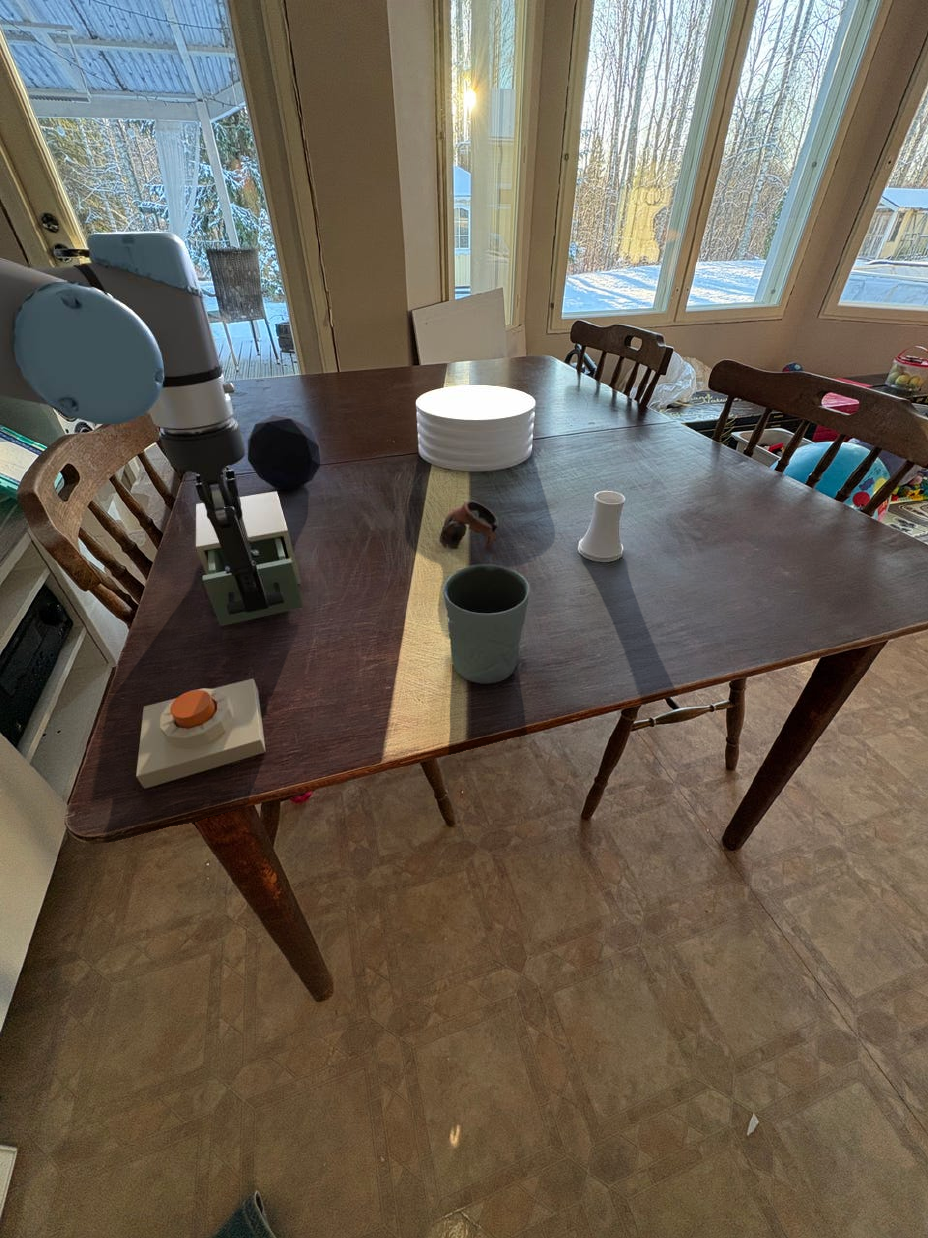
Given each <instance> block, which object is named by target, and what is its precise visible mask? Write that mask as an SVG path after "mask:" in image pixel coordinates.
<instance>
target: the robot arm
mask: <svg viewBox="0 0 928 1238" xmlns="http://www.w3.org/2000/svg"><path fill="white" fill-rule="evenodd" d="M86 245H87V249H88V252H89V256H88V259H89V261H90V262H85V263H81V264H73V265H72V266H46V267H45V266H43V267H28V266H25V265H21V264H19V263H16V262H13V261H11V260H8V259H4V258H2V257H0V397H6V398H11V399H16V400H21V401H25V402H31V403H37V404H41V405H46V406H48V407H49V408H52V409H53V410H55V411H58V412H60V413H61V414H64V415H65V416H67V417H70V418H72V419H78V420H81V421H85V422H88V423H92V424H97V425H120V424H125V423H128V422H132V421H133V420H136V419H138V418H140V417H142V416H143V415H144V414H146V413H147V412H149V414H150V417H151V420H152V422H153V424H154V425H155V426H157V427H159V428H160V429H159V431H158V436H159V440H160V442H161V445H162V447H163V450H164V452H165V455H166V458H167V460H168V462H169V464H170V466H171V467H173V469H176V470H178V471H181V472H191V473H195V474H196V475H195V479H196V483H195V489H196V492H197V495H198V499H199V500H200V501H201V503H204V505H205V508H206V510H207V518H208V519H209V520H210V522H211V524H212V526H213V528H214V530H215V533H216V535H217V538H218V541H219V543H220V546H221V548H222V551H223V553H224V556H225V558H226V561H227V563H228V566H226V567H225V569H226V574H230V573H231V574H232V576H234V577H235V580H236V583H237V586H238V589H239V591H240V594H241V597H242V600H243V603H244V606H245V609H246V612H247V613H249V612H254V611H258V610H263V609H267V608H269V607H268V601H267V598H266V595H265V592H264V588H263V585H262V582H261V579H260V575H259V572H258V569H257V566H256V562H255V560H252V558H256V557H259V553H258V550H254V551H251V548H250V547H251V546H250V545H251V541H250V540H249V538H248V535H247V531H246V528H245V524H244V521H243V518H242V516H243V515H242V509H241V500H240V497H241V496H240V494H239V488H238V479H237V476H236V473H235V470H234V469H230V467H229V466H233V465H235V464H237V463H239V462H240V461H242V459H243V458H244V456H245V454H246V447H245V444H244V441H243V438H242V434H241V430H240V426H239V424H238V422H237V420H235V419H234V418H233V416H234V414H235V409H234V407H233V403H232V399H231V396H230V395H229V394H231V395H232V394H234V393H235V391H236V389H235V386H234V384H233V383H232V382H226V383H225V379H226V378H225V376H224V371H223V366H222V364H221V361H220V357H219V353H218V349H217V346H216V341H215V338H214V333H213V329H212V325H211V322H210V319H209V315H208V311H207V307H206V303H205V299H204V298H205V295H204V292H203V290H202V287H201V285H200V282H199V278H198V276H197V273H196V269H195V266H194V263H193V261H192V259H191V256H190V253H189V250H188V247H187V245H186V244H185V243H184V241H183V240H182V239H180V237H179V236H177V235H176V234H174V233H173V232H169V231H115V232H94V233H91V234H89V235H88V236H87V239H86Z"/></svg>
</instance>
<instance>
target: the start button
mask: <svg viewBox="0 0 928 1238" xmlns="http://www.w3.org/2000/svg"><path fill="white" fill-rule="evenodd" d="M174 699H175V700H174V702H173V703H172V705H171V708H170V711H171V714H172V716H173V717H174V719H175V721H176V723H177V724H178V726H180V727H182V728H186V729H190V728H194V727H197V726H201V725H203V724H204V723H206V722H207V721H209V720H210V719H211V718H212V717H213V715H214V713H215V709H216V708H215V705H214V703H213V701H212V698H211V696H210V694H209V693H208V692H206V691H203V690H199V689H194V690H193V689H192V690H189V691H186V692H184V693H182V694H180V695H179V696H178V697H176V698H174Z"/></svg>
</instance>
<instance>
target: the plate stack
mask: <svg viewBox="0 0 928 1238" xmlns="http://www.w3.org/2000/svg"><path fill="white" fill-rule="evenodd" d="M415 409H416V422H417V423H416V429H417V443H418V454H419V455H420V457H421V458H422V459H423V460H424V461H425V462H427V463H429V464H431V465H433V466H436V467H438V468H443V469H446V470H452V471H460V472H491V471H499V470H504V469H508V468H512V467H514V466H518V465H520V464H522V463H523V462H525V461H527V460H528V459H529V458H530V457H531V455H532V451H533V441H534V434H533V433H534V428H535V427H534V426H535V424H534V422H535V416H536V415H535V410H536V400H535V398H534V397H533V396H532V395H530V394H528V393H526V392H524V391H521V390H518V389H516V388H515V389H514V388H510V387H505V386H497V385H483V384H482V385H481V384H473V385H472V384H471V385H470V384H468V385H455V386H447V387H441V388H436V389H433V390H430V391H428V392H425V393H423V394H421V395H420V396H418V397H417V399H416V400H415Z"/></svg>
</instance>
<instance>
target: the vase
mask: <svg viewBox="0 0 928 1238" xmlns="http://www.w3.org/2000/svg"><path fill="white" fill-rule="evenodd" d="M625 502H626V497H625V496H624V495H623V494H622V493H619V492H617V491H611V490H602V491H598V492H596V493H594V506H593V512H592V516H591V520H590V523H589V526H588V529H587V531H586V533H585V534H584V536H583V537H582V538H581V539H580V540H579V541H578V546H577V550H578V553H579V554H580V555H581V556H583V558H586V559H588V560H590V561H594V562H599V563H609V562H614V561H617V560H619V559H620V558H621V557H622V556H623V551H624V545H623V543H622V542H621V536H620V522H621V521H620V520H621V514H622V510H623V507H624V504H625Z"/></svg>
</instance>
